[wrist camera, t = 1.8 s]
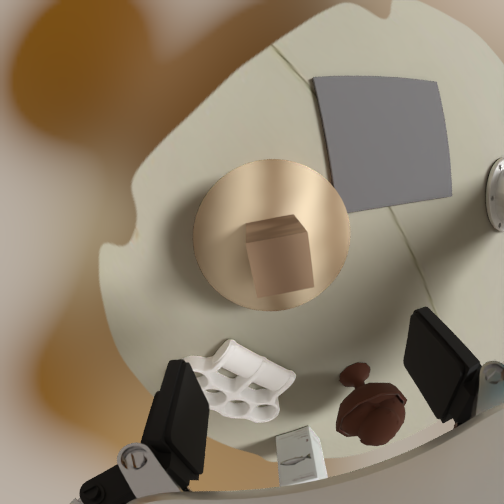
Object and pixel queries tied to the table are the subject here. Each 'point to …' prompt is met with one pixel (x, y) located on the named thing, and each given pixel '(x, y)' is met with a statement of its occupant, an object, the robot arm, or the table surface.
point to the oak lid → (271, 235)
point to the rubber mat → (384, 140)
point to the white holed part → (242, 382)
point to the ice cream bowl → (369, 408)
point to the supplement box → (300, 457)
